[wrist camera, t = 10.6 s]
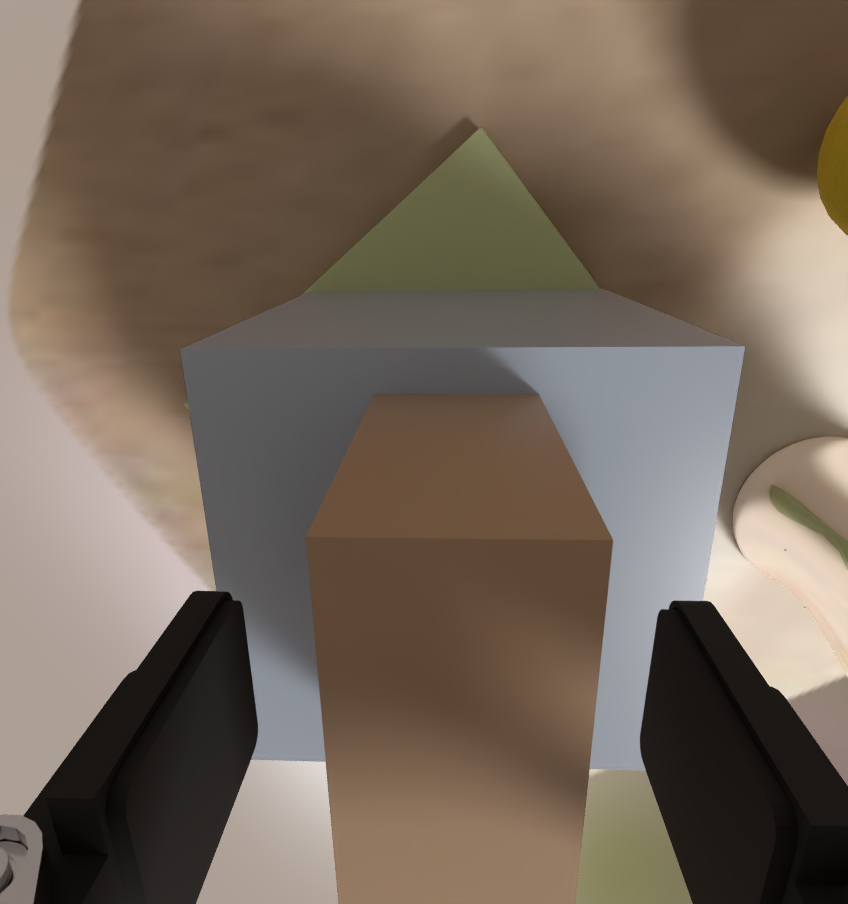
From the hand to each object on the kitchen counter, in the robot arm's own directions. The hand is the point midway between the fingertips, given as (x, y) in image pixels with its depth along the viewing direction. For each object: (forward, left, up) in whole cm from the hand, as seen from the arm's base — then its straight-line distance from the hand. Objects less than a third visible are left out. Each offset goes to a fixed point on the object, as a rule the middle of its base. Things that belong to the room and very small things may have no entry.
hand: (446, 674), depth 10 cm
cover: (0, 0, -13) cm, 13 cm away
